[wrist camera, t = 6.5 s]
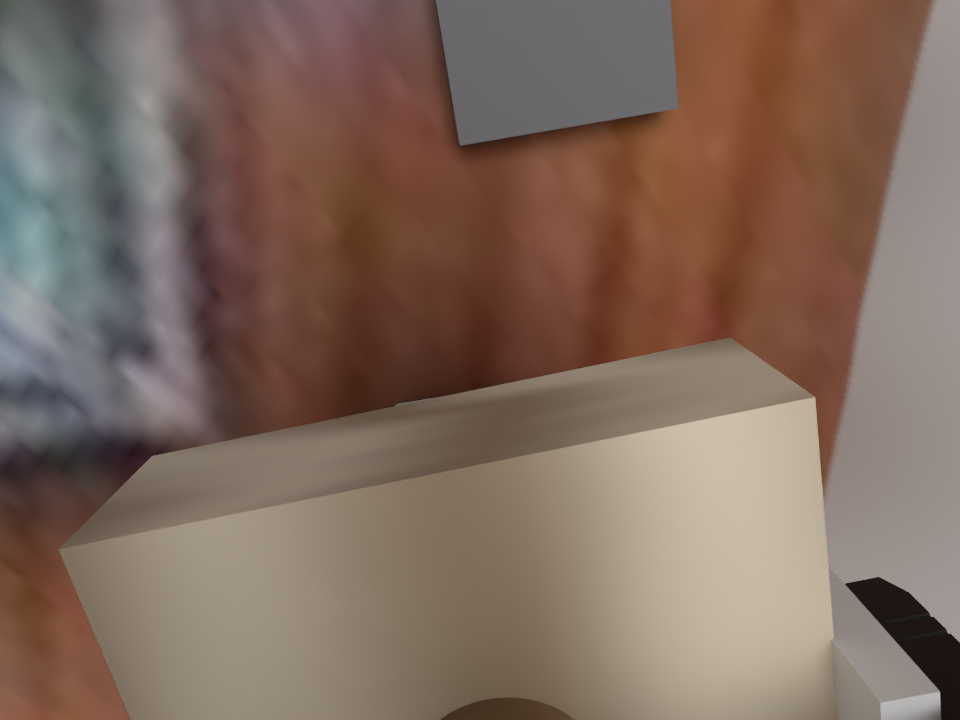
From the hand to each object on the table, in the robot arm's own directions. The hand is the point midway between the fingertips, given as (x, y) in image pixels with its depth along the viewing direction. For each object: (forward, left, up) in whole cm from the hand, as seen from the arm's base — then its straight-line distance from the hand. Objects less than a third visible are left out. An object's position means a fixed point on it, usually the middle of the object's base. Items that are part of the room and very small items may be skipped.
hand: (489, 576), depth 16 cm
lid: (0, 0, +2) cm, 2 cm away
